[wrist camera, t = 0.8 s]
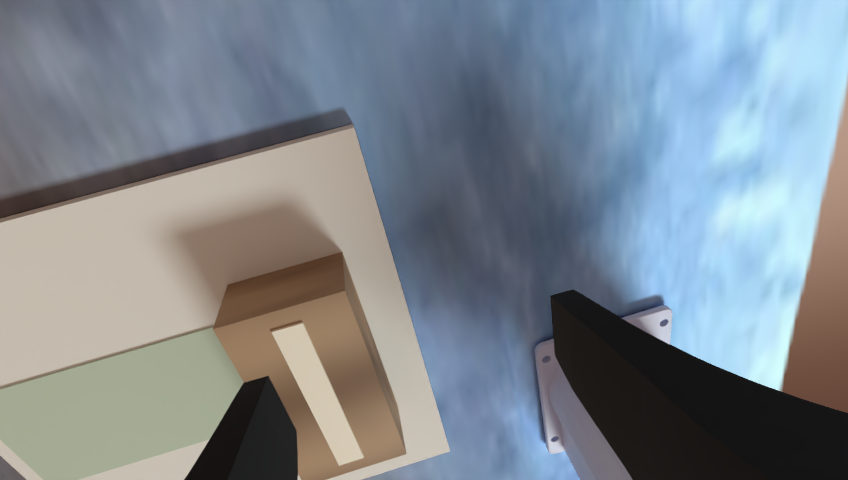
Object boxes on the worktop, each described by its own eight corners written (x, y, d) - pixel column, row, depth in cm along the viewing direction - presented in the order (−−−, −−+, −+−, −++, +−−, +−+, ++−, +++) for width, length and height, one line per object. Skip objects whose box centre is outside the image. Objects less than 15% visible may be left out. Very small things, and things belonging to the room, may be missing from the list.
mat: (447, 442, 28) (450, 452, 27) (117, 547, 26) (113, 560, 26) (353, 123, 18) (354, 128, 17) (-182, 267, 17) (-201, 277, 16)
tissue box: (397, 405, 25) (406, 455, 22) (307, 433, 24) (305, 488, 22) (342, 251, 20) (345, 292, 17) (227, 284, 19) (212, 331, 17)
